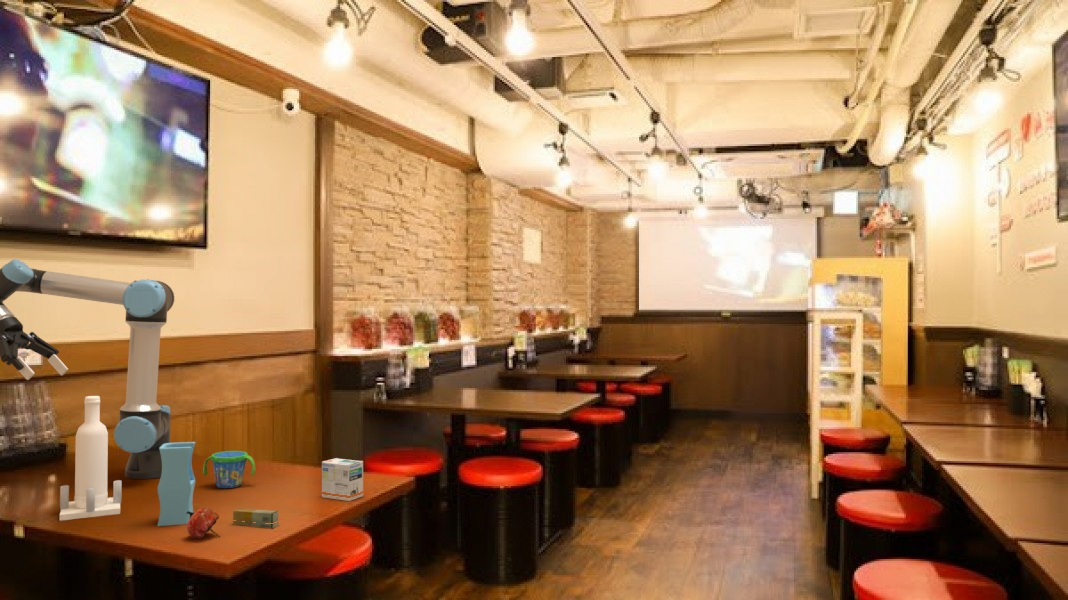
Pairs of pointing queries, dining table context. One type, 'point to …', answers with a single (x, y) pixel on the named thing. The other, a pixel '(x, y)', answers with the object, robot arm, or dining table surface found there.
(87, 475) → the bottle
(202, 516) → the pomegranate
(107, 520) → the dining table surface
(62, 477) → the dining table surface
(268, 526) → the medication box
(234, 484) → the snack cup
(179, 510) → the vase
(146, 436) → the robot arm
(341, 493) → the light bulb box
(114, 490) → the pin caddy
